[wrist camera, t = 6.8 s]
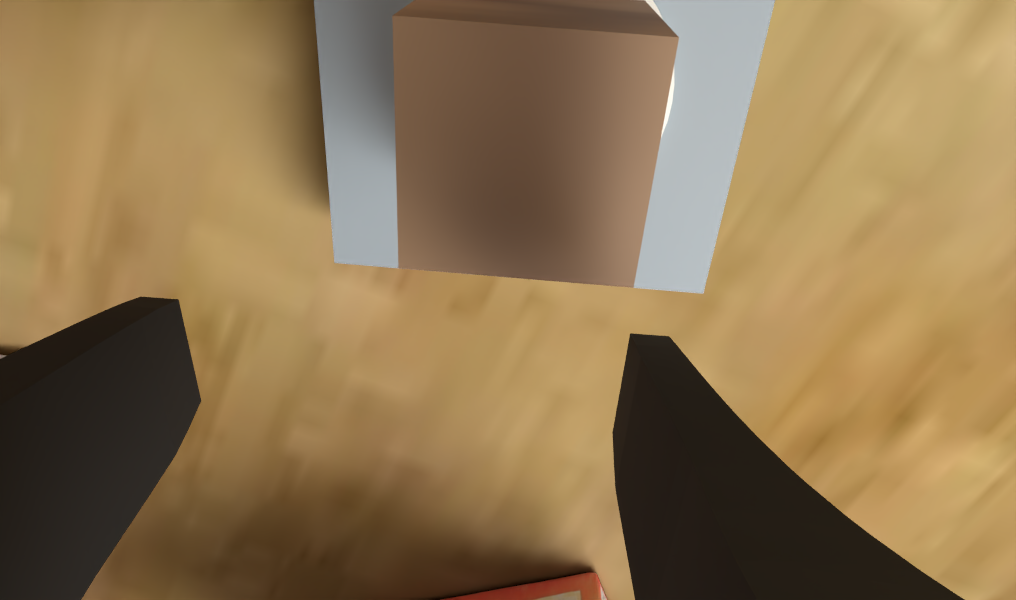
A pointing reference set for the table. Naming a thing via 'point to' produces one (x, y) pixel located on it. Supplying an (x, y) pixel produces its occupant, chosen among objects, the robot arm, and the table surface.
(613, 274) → the walnut block
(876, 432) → the table surface
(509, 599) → the cracker box
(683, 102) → the plinth
